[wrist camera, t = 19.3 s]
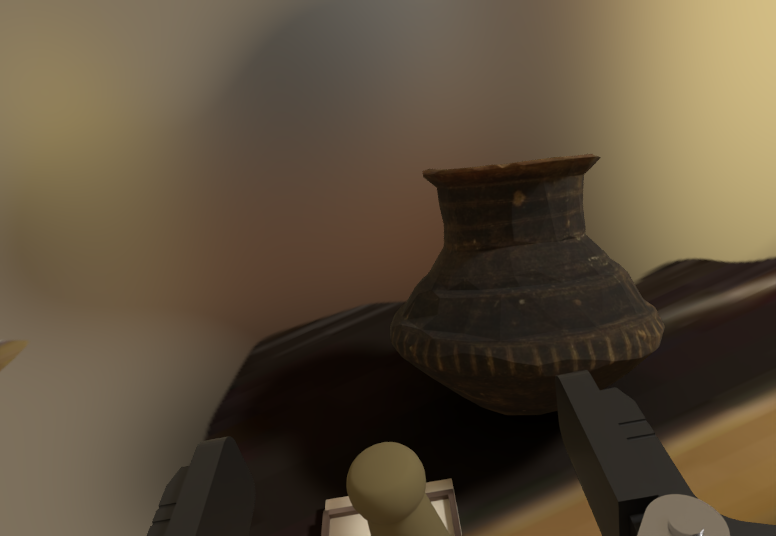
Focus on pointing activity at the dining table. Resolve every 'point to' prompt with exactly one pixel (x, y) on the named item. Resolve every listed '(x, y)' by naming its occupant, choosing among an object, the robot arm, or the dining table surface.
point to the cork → (392, 492)
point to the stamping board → (351, 531)
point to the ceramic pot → (521, 291)
